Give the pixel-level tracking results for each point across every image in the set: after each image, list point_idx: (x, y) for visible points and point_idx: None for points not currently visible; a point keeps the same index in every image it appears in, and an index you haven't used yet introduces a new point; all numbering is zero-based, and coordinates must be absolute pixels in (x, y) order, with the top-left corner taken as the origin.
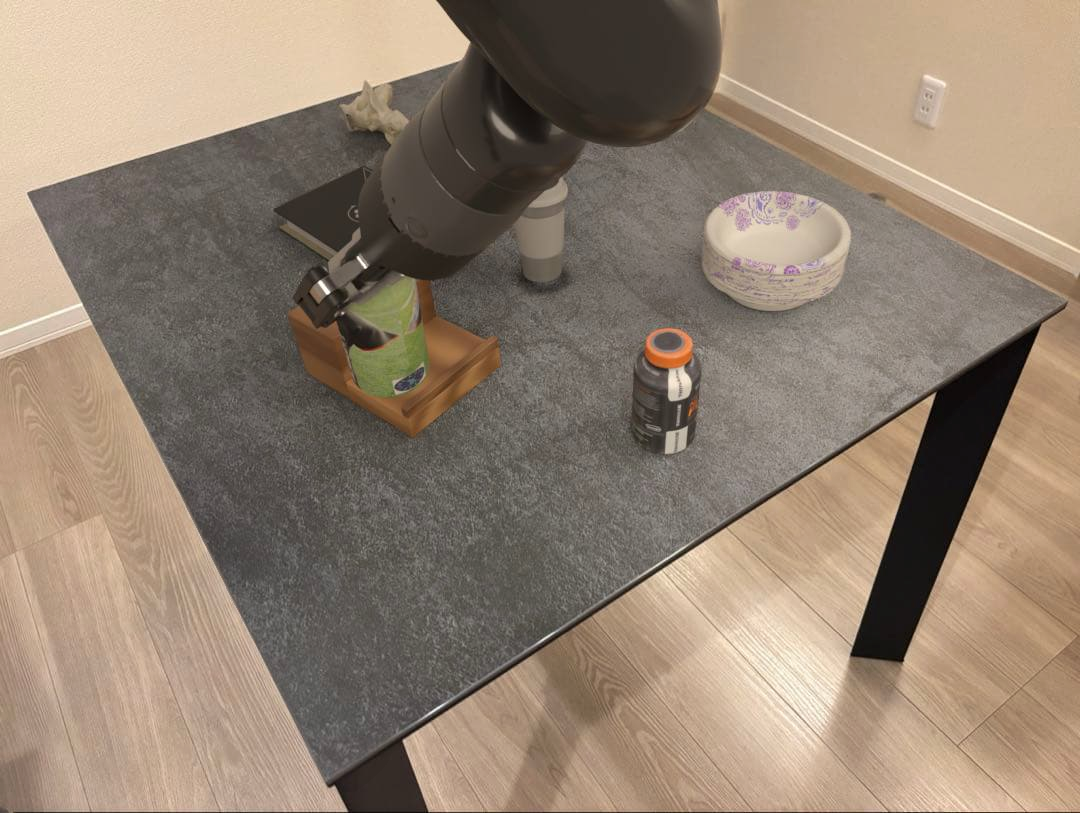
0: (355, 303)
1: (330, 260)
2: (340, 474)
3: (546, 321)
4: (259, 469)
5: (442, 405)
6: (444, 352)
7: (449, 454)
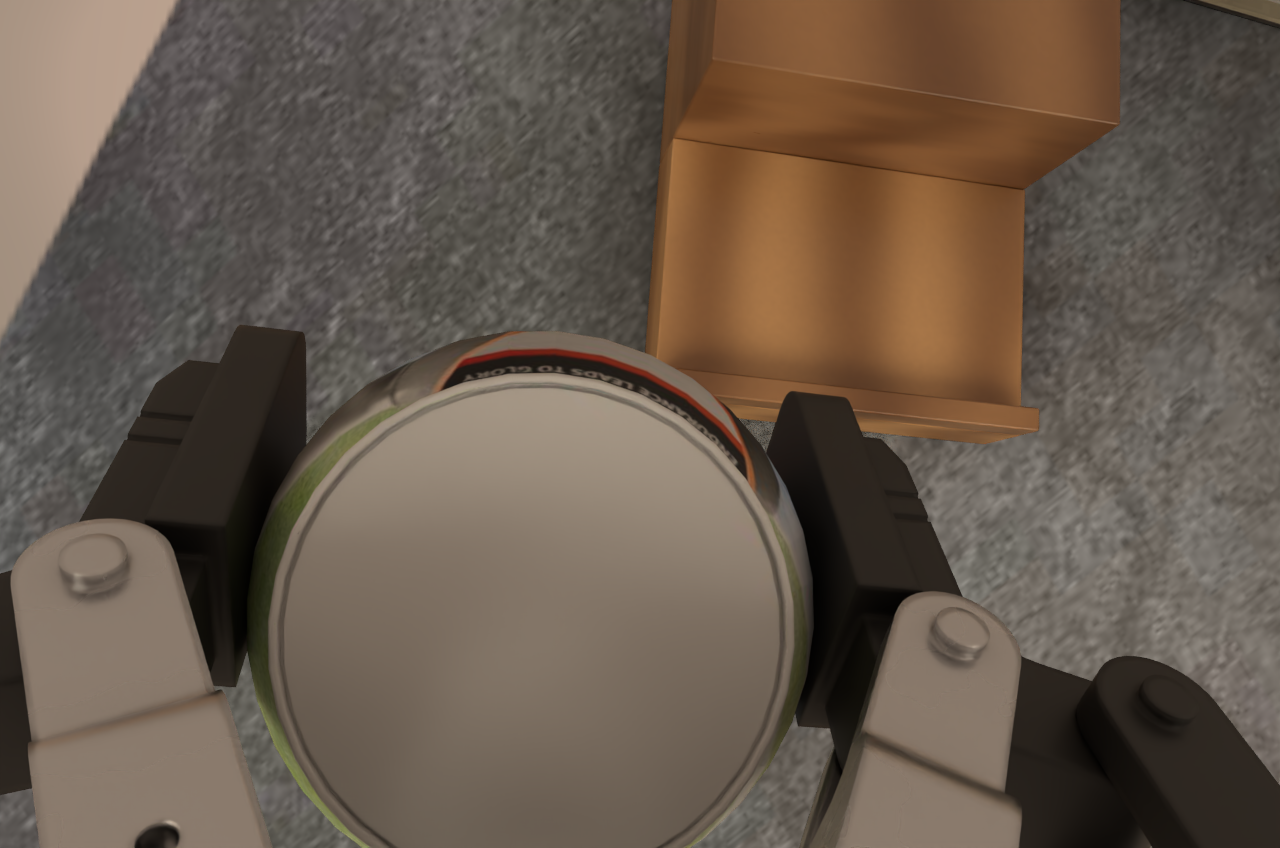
0: (272, 726)
1: (36, 773)
2: (436, 322)
3: (1187, 448)
4: (334, 118)
5: (766, 416)
6: (917, 310)
7: None
